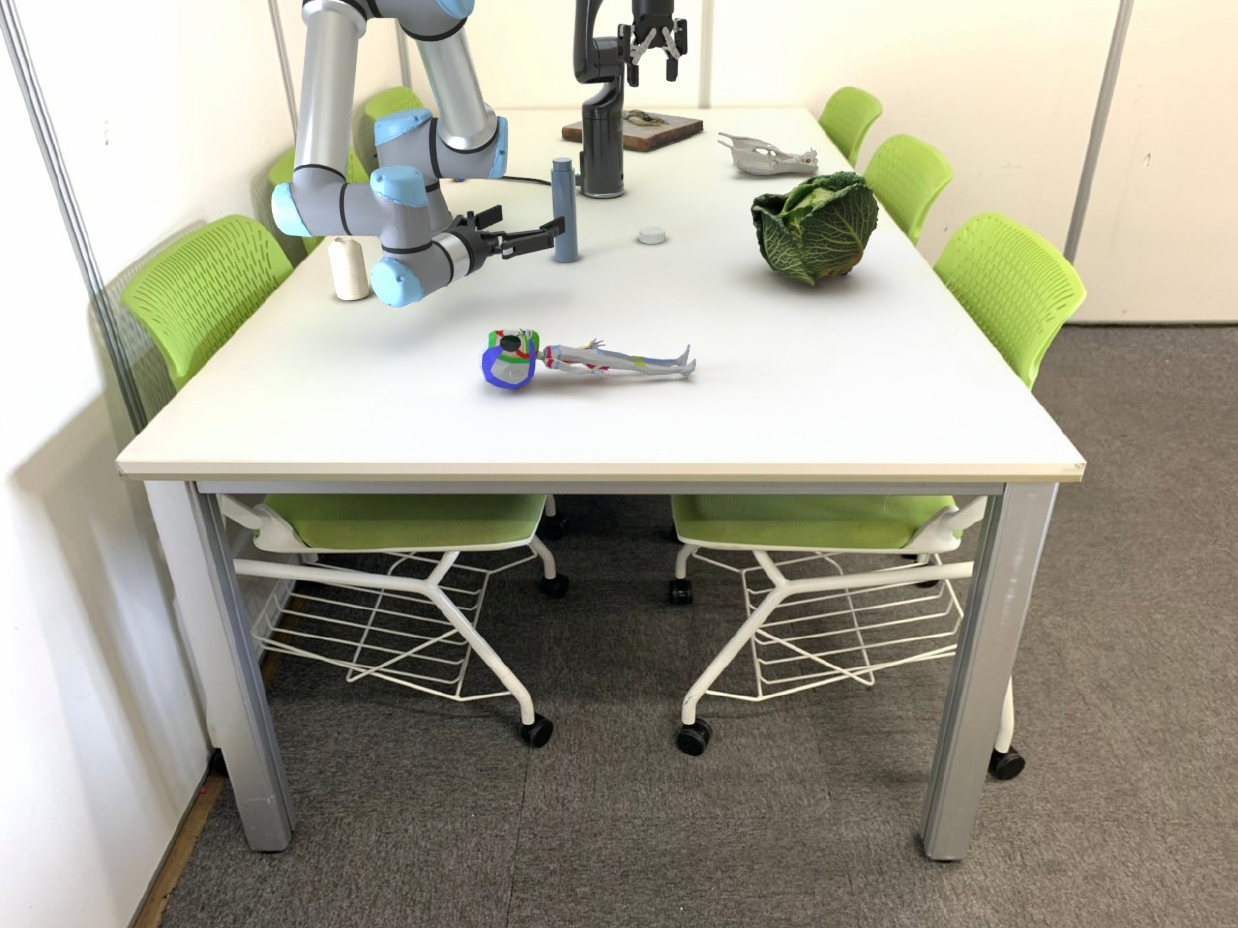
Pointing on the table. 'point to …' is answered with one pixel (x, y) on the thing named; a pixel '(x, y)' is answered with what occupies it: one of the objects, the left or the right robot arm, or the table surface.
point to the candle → (348, 269)
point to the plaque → (645, 129)
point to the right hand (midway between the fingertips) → (652, 84)
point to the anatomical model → (767, 157)
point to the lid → (652, 235)
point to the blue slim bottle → (565, 208)
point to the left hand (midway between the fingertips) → (531, 218)
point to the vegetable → (816, 226)
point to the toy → (561, 359)
